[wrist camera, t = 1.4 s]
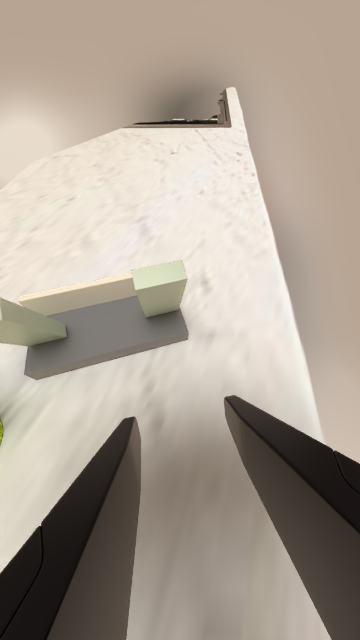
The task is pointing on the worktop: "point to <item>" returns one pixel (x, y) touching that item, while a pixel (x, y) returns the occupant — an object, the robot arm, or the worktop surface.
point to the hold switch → (27, 326)
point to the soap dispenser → (1, 431)
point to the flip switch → (160, 287)
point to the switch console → (97, 325)
